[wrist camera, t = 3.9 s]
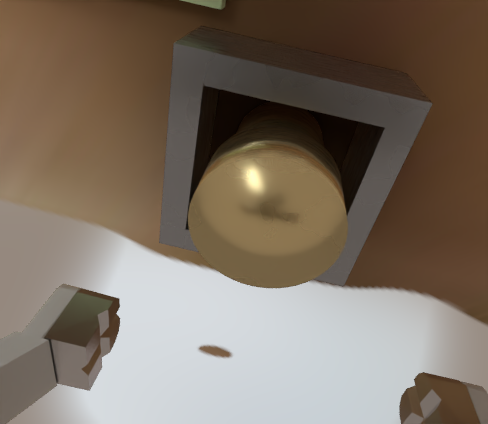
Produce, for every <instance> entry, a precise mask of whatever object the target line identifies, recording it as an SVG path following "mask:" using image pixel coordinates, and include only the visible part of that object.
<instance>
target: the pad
mask: <svg viewBox="0 0 488 424" xmlns="http://www.w3.org/2000/svg"><path fill="white" fill-rule="evenodd" d="M181 1H186V2H190V3H194V4H199V5H203V6H207V7H212V8H216V9H220V10H221V9H223V8H225V4H226V0H181Z"/></svg>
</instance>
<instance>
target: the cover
mask: <svg viewBox="0 0 488 424" xmlns="http://www.w3.org/2000/svg"><path fill="white" fill-rule="evenodd" d="M188 226H189V231H190V235H191V238H192V240H193V243H194V245H195V247H196V248H197V250H198V252H199V253H200V254H201V256H202V257H203V258H204V259H205V260H206V261H207V262H208V263H209V264H210V265H211V266H212V267H213V268H215V269H216V270H217V271H219V272H220V273H222V274H223V275H225V276H227V277H229V278H231V279H233V280H235V281H238V282H240V283H243V284H247V285H251V286H256V287H263V288H284V287H290V286H296V285H299V284H302V283H305V282H308V281H310V280H312V279H314V278H316V277H318V276H320V275H321V274H323V273H324V272H325V271H327V270H328V269H329V268H330V267H331V266H332V265H333V264H334V263H335V262H336V260H337V259H338V258H339V256H340V254H341V253H342V251H343V249H344V246H345V243H346V240H347V234H348V221H347V215H346V208H345V202H344V195H343V189H342V182H341V176H340V172H339V169H338V166H337V164H336V162H335V160H334V158H333V157H332V155H331V154H330V153H329V151H328V150H327V149H326V148H325V147H324V144H323V135H322V131H321V128H320V126H319V124H318V122H317V121H316V119H315V118H314V117H313V116H312V114H311V113H309V112H308V111H307V110H306V109H303V108H299V107H294V106H290V105H286V104H281V103H277V102H268V103H265V104H262V105H260V106H258V107H256V108H254V109H253V110H251V111H250V112H249V113H248V114H247V115H246V116H245V117H244V119H243V120H242V122H241V123H240V125H239V128H238V130H237V133H236V134H235V135H233V136H232V137H230V138H229V139H227V140H226V141H225V142H224V143H223V144H222V145H221V146H220V147H219V148H218V149H217V150H216V152H215V153H214V155H213V156H212V158H211V160H210V162H209V164H208V166H207V168H206V170H205V172H204V174H203V177H202V179H201V181H200V183H199V185H198V187H197V189H196V191H195V193H194V195H193V198H192V200H191V203H190V207H189V211H188Z"/></svg>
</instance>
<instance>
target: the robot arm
mask: <svg viewBox="0 0 488 424" xmlns="http://www.w3.org/2000/svg"><path fill="white" fill-rule="evenodd" d="M119 307H120V304H119V299H118V298H115V297H111V296H107V295H104V294H100V293H97V292H93V291H89V290H86V289H82V288H78V287H74V286H70V285H66V284H62V285H61V286H59V287H58V288H57V289H56V290H55V291H54V292H53V294H52V295H51V296H50V297H49V299H48V300H47V301H46V303H45V304H44V305H43V306H42V308H41V309H40V310H39V311H38V313H37V314H36V315H35V316H34V318H33V319H32V320H31V321H30V323H29V324H28V325H27V326H26V328H25V329H24V330H23V331H22V333H20V332H14V333H12V334H10V335H8V336H6V337H4V338H2V339H0V424H6V423H7V422H9V421H10V420H12V419H13V418H14V417H16V416H17V415H18V414H20V413H21V412H22V411H24V410H25V409H26V408H28V407H29V406H30V405H32V404H33V403H34V402H35V401H37V400H38V399H40V398H41V397H42V396H44V395H45V394H46V393H48V392H49V391H50V390H52V389H53V388H54V387H56V386H57V384H62V385H67V386H71V387H75V388H80V389H85V390H90V389H91V387H92V385H93V383H94V381H95V380H96V378H97V376H98V374H99V372H100V370H101V368H102V357H103V356H105V355H106V354H108V353H109V352H110V351H111V349H112V347H113V345H114V343H115V340H116V337H117V334H118V331H119V326H120V318H119V316H118V315H117V314H116V313H117V311H118V309H119ZM414 381H415V385H416V386H413V387H410V388H407V389H406V391H405V392H404V394H403V395H402V397H401V402H400V419H401V424H488V394H487V392H486V391H485V390H484V388H483V387H481V386H477V385H473V384H469V383H465V382H460V381H458V380H454V379H450V378H446V377H441V376H437V375H432V374H428V373H424V372H423V373H420V374H418V375H417V376H416V378H415V379H414Z"/></svg>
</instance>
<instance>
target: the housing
mask: <svg viewBox="0 0 488 424" xmlns="http://www.w3.org/2000/svg"><path fill="white" fill-rule="evenodd" d="M219 89H221V90H226V91H230V92H234V93H238V94H243V95H247V96H251V97H256V98H260V99H264V100H269V101H273V102H277V103H281V104H286V105H290V106H294V107H299V108H303V109H307V110H311V111H316V112H320V113H324V114H329V115H333V116H337V117H342V118H346V119H350V120H354V121H359V123H358V125H357V128H356V130H355V133H354V136H353V138H352V141H351V144H350V146H349V149H348V151H347V154H346V157H345V159H344V162H343V164H342V167H341V170H340V176H341V182H342V189H343V195H344V202H345V208H346V215H347V221H348V234H347V240H346V243H345V246H344V249H343V251H342V253H341V254H340V256H339V258H338V259H337V260H336V262H335V263H334V264H333V265H332V266H331V267H330V268H329V269H328V270H327V271H325V272H324V273H323V274H321V275H320V276H318V277H316V278H314V280H318V281H322V282H327V283H331V284H335V285H339V286H344V284H345V282H346V280H347V278H348V276H349V274H350V272H351V270H352V268H353V266H354V264H355V262H356V260H357V258H358V256H359V253H360V251H361V249H362V247H363V245H364V243H365V241H366V239H367V237H368V235H369V233H370V231H371V229H372V227H373V225H374V223H375V221H376V219H377V217H378V214H379V212H380V210H381V208H382V206H383V204H384V202H385V200H386V198H387V196H388V194H389V192H390V190H391V188H392V186H393V184H394V182H395V180H396V178H397V175H398V173H399V171H400V169H401V167H402V165H403V163H404V161H405V159H406V157H407V155H408V153H409V151H410V149H411V147H412V145H413V143H414V141H415V139H416V137H417V134H418V132H419V130H420V128H421V126H422V124H423V122H424V120H425V118H426V116H427V114H428V112H429V110H430V108H431V106H432V104H433V103H432V102H431V101H430V100H429V99H428V97H427V96H426V95H425V94H424V93H423V92H422V91H421V89H420V88H419V87H418V86H417V85H416V84H415V83H414V81H413V80H412V79H411V78H410V77H409V76H408V75H407V73H403V72H398V71H394V70H390V69H385V68H381V67H377V66H372V65H368V64H364V63H359V62H355V61H351V60H346V59H342V58H338V57H333V56H329V55H325V54H321V53H316V52H312V51H308V50H303V49H299V48H295V47H290V46H286V45H282V44H277V43H273V42H269V41H264V40H260V39H256V38H251V37H247V36H243V35H239V34H234V33H230V32H226V31H221V30H217V29H213V28H208V27H204V26H200V27H199V28H197V29H196V30H194V31H192V32H191V33H189V34H188V35H186V36H185V37H183V38H181V39H180V40H178V41H177V42H175V43H174V48H173V61H172V75H171V89H170V102H169V116H168V130H167V144H166V157H165V171H164V185H163V198H162V212H161V226H160V240H159V243H162V244H166V245H170V246H175V247H179V248H183V249H187V250H192V251H196V252H198V250H197V248H196V247H195V245H194V243H193V240H192V238H191V235H190V231H189V226H188V211H189V207H190V203H191V200H192V198H193V195H194V193H195V191H196V189H197V187H198V185H199V183H200V181H201V179H202V177H203V174H204V172H205V170H206V168H207V166H208V163H209V156H210V149H211V142H212V136H213V129H214V122H215V116H216V109H217V102H218V95H219Z"/></svg>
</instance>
